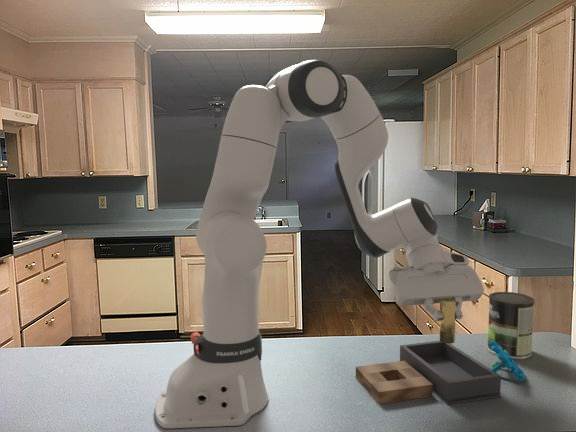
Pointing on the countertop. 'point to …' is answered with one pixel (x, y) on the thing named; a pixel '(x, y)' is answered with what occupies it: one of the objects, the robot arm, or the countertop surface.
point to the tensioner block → (393, 382)
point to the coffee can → (511, 323)
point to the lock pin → (447, 321)
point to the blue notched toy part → (505, 361)
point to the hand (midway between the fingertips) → (449, 319)
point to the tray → (452, 372)
